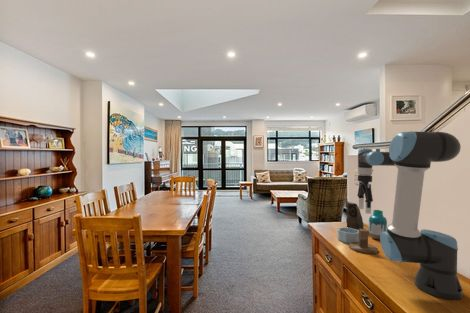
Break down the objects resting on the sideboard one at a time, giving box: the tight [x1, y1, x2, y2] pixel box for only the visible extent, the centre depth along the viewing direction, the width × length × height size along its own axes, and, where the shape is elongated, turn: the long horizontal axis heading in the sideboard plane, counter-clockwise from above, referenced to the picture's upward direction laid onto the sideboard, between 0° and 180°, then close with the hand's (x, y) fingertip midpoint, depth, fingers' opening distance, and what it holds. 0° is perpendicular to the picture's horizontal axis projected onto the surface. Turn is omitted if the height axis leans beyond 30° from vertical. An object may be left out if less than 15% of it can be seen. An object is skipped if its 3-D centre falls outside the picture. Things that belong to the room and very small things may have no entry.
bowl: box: [336, 226, 359, 244], centre depth 157 cm, size 13×13×7 cm
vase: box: [368, 209, 388, 241], centre depth 162 cm, size 11×11×19 cm
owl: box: [345, 201, 364, 230], centre depth 187 cm, size 13×13×20 cm
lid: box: [348, 228, 379, 255], centre depth 142 cm, size 15×15×11 cm
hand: (364, 211), depth 143 cm, fingers open, 13 cm apart
